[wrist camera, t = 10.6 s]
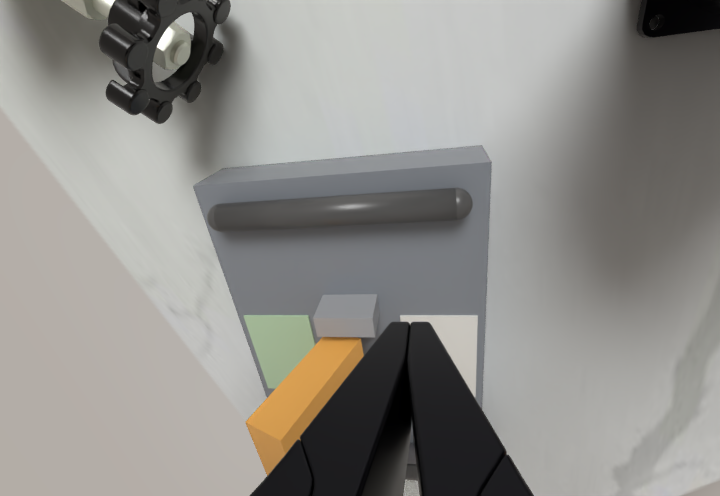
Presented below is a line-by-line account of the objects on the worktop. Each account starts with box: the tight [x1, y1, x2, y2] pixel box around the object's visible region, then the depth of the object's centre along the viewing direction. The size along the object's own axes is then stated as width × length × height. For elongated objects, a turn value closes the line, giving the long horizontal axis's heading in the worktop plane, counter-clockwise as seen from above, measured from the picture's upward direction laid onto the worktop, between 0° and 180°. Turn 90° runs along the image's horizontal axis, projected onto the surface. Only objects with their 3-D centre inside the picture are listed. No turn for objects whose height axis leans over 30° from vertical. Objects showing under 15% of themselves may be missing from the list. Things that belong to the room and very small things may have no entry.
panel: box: [193, 146, 491, 480], centre depth 22 cm, size 14×22×5 cm, turn 7°
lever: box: [246, 337, 364, 476], centre depth 18 cm, size 2×5×6 cm, turn 7°
